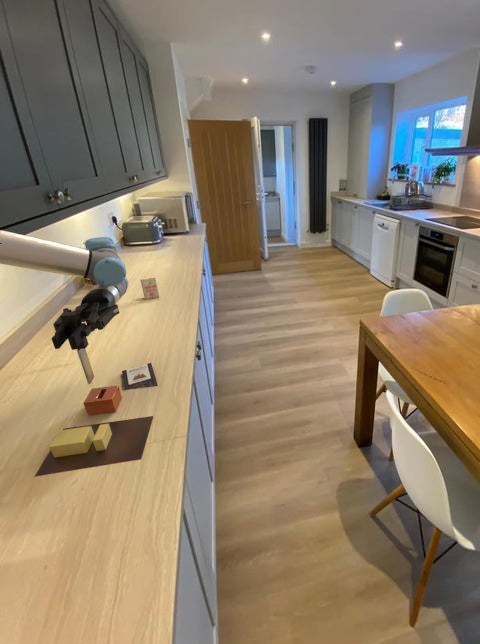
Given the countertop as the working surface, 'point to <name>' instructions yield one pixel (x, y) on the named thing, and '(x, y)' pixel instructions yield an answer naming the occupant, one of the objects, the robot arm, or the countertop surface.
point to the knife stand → (103, 400)
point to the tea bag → (150, 288)
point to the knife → (70, 325)
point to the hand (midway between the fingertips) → (64, 342)
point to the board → (120, 448)
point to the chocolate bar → (139, 377)
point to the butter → (72, 441)
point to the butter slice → (102, 437)
